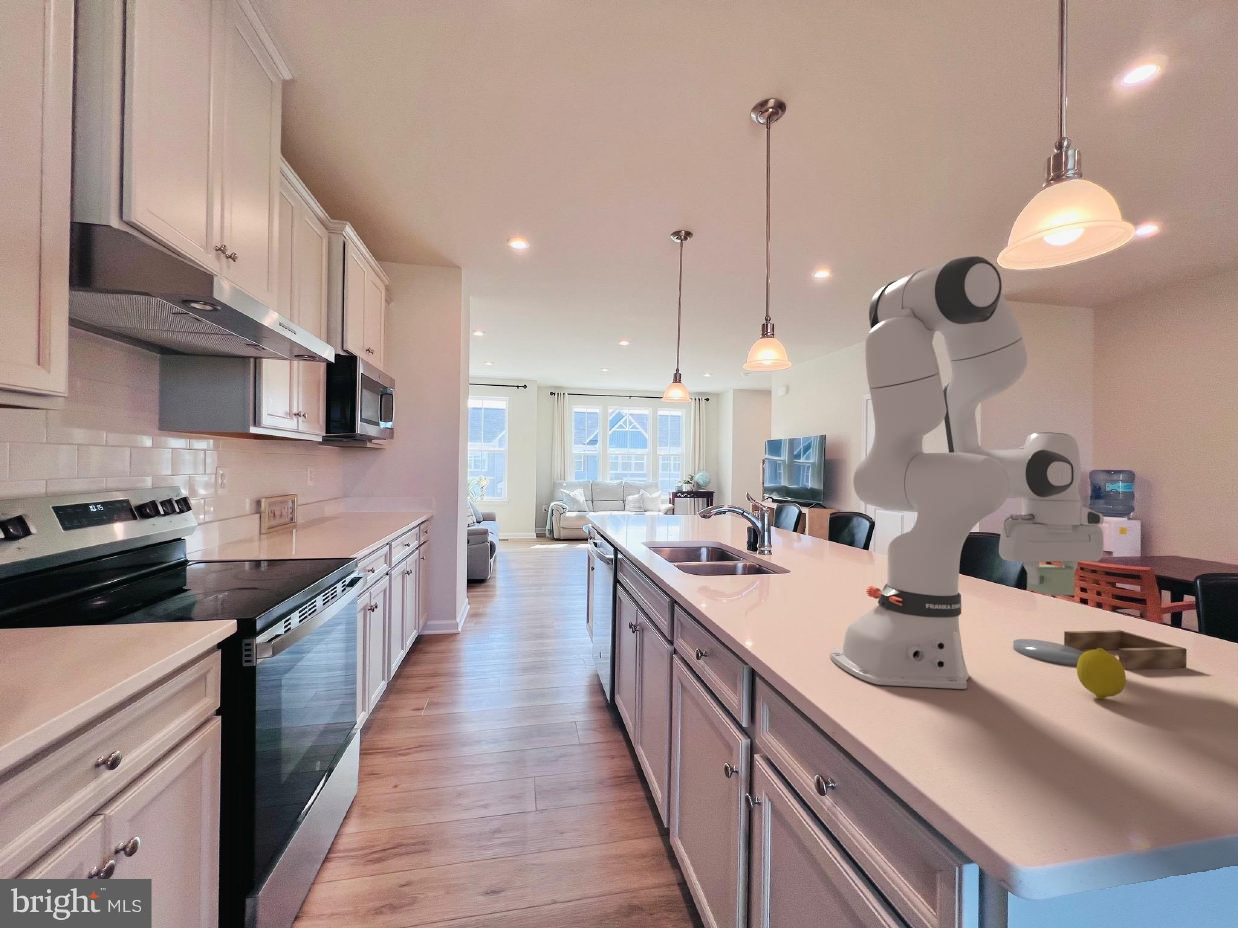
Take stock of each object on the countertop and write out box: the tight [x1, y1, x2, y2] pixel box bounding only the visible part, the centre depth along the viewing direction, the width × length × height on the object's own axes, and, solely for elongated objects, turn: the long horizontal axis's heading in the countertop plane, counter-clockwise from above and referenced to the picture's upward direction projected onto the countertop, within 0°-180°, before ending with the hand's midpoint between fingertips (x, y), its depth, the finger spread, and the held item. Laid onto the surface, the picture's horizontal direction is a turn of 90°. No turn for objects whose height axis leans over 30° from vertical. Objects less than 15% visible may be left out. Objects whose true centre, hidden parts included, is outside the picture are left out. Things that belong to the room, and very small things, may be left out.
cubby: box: [1063, 629, 1188, 671], centre depth 96 cm, size 14×11×4 cm
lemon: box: [1076, 648, 1127, 700], centre depth 77 cm, size 6×6×8 cm
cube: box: [1026, 564, 1075, 597], centre depth 97 cm, size 5×5×5 cm
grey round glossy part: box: [1012, 638, 1085, 666], centre depth 97 cm, size 11×11×1 cm
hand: (1050, 583), depth 97 cm, fingers closed on cube, 5 cm apart
